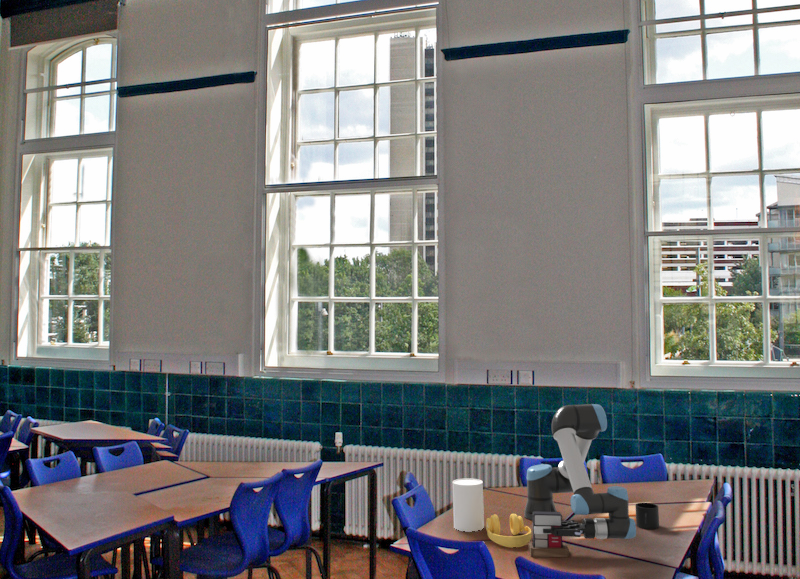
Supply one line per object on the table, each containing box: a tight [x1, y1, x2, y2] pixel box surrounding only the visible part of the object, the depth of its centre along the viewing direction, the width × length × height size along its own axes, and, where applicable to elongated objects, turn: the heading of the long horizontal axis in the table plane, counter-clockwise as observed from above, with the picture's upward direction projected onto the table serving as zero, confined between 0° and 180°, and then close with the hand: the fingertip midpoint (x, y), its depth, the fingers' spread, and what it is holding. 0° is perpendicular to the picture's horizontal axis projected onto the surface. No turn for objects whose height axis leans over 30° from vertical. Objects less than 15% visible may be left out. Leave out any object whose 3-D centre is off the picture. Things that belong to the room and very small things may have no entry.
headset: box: [485, 513, 532, 548], centre depth 271 cm, size 18×21×9 cm
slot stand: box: [527, 541, 570, 558], centre depth 253 cm, size 8×14×3 cm, turn 86°
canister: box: [452, 477, 485, 533], centre depth 290 cm, size 14×14×20 cm
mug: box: [634, 502, 660, 530], centre depth 284 cm, size 9×12×9 cm
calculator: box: [532, 511, 563, 548], centre depth 254 cm, size 11×4×15 cm, turn 85°
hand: (533, 528), depth 254 cm, fingers closed on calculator, 4 cm apart
